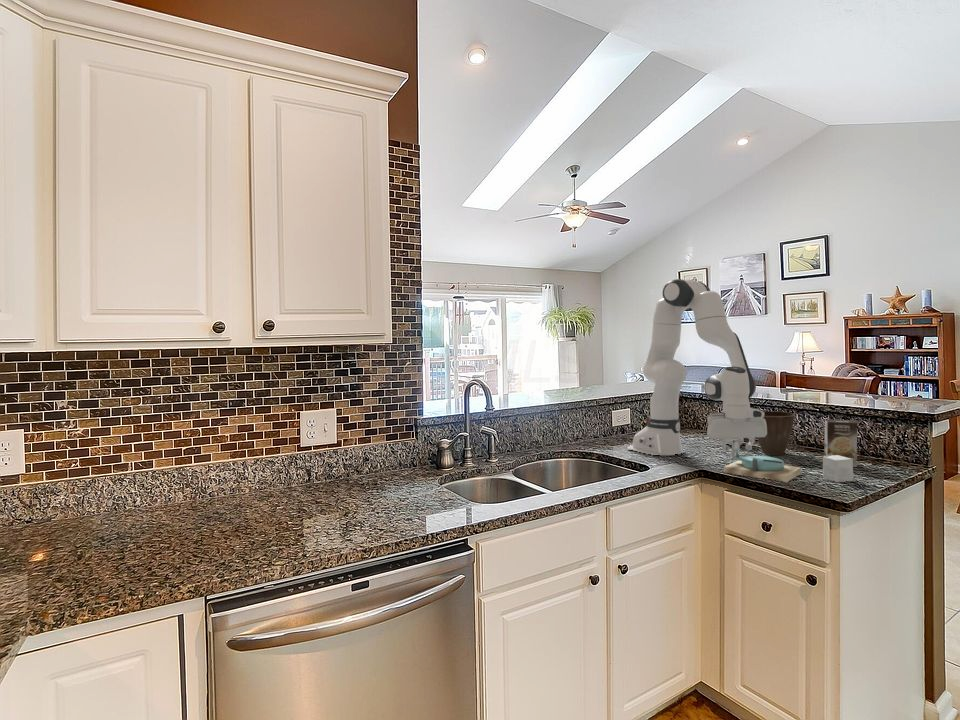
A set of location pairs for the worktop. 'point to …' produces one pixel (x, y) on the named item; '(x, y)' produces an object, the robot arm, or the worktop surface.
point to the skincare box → (838, 468)
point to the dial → (762, 461)
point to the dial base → (778, 475)
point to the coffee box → (841, 439)
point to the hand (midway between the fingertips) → (737, 450)
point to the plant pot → (776, 432)
